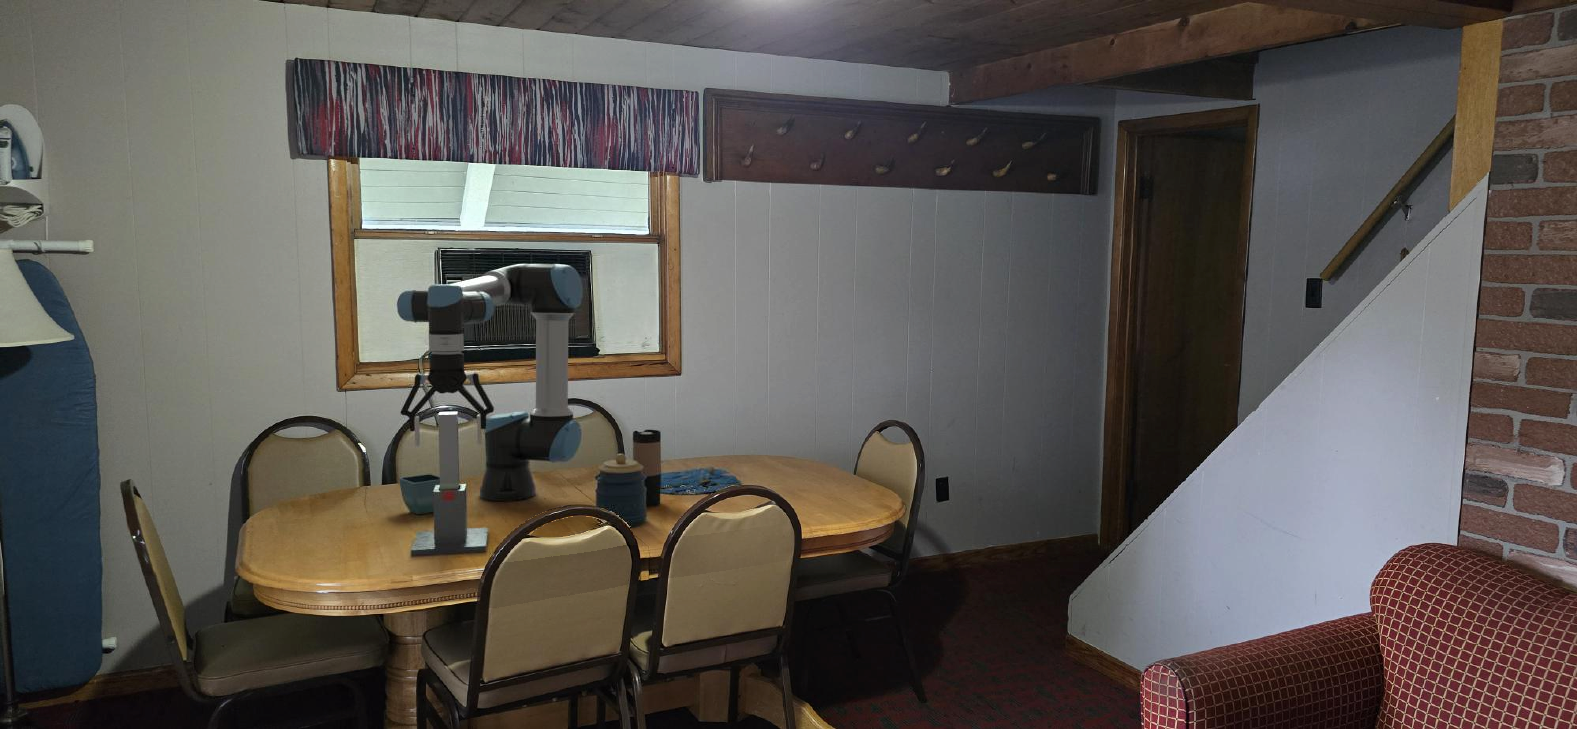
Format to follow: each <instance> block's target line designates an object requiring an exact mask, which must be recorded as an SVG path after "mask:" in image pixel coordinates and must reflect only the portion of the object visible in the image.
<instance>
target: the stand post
mask: <svg viewBox="0 0 1577 729" xmlns="http://www.w3.org/2000/svg"><path fill="white" fill-rule="evenodd" d="M458 413H459V412H458V411H439V413H438V414H437V415H438V416H437V419H438V420H437V421H438V422H437V424H438V456H439V457H438V459H439V460H438V461H439V463H438V464H439V466H438V467H439V477H440V491H441V490H460V484H461V483H460V452H459V451H460V450H459V448H460V447H459V445H460V444H459V414H458Z"/></svg>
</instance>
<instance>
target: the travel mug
mask: <svg viewBox="0 0 1577 729" xmlns="http://www.w3.org/2000/svg"><path fill="white" fill-rule="evenodd" d="M661 437H662V436H661V430H659V429H645V430H644V431H638V430H633V431H632V460H634V461H637V462H638V463H639V464H641V465H642V466H643V469H642V472H643V473H645V474H646V475H647V478H646V479H645V487H646V488H647V490H646V508H653V507H658V506H660V505H661V490H662V488H661V473H662V448H661V447H662V443H661V442H662V441H661ZM659 504H660V505H659Z"/></svg>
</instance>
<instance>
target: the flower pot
mask: <svg viewBox="0 0 1577 729" xmlns="http://www.w3.org/2000/svg"><path fill="white" fill-rule="evenodd" d="M398 479H399V485H400V492H401V496H402V500H403V503H404V504H405V506H406V507H407V509H408V510H409V512H412V513H414V514H416V515H421V514H422V515H423V514H428V513H434V504H433V491H434V488H435V486H436V485H440V475H435V474H433V473H426V474H418V475H412V476H406V477H405V476H404V477H400V478H398Z"/></svg>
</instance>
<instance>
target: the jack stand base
mask: <svg viewBox="0 0 1577 729" xmlns="http://www.w3.org/2000/svg"><path fill="white" fill-rule="evenodd" d="M459 484H460V490H441V491H440V485H436V486H435V488H434V491H433V504H434V512H433V530H418V531H417V533H416V536H415V539H414V542H413V544H412V546H411V549H410V554H411V555H410V557H413V558H414V557H428V556H429V557H430V556H446V555H463V554H480V553H487V547H488V546H487V545H488V538H489V527H469V528H468V511H467V510H468V507H467V506H468V505H467V483H459Z"/></svg>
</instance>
